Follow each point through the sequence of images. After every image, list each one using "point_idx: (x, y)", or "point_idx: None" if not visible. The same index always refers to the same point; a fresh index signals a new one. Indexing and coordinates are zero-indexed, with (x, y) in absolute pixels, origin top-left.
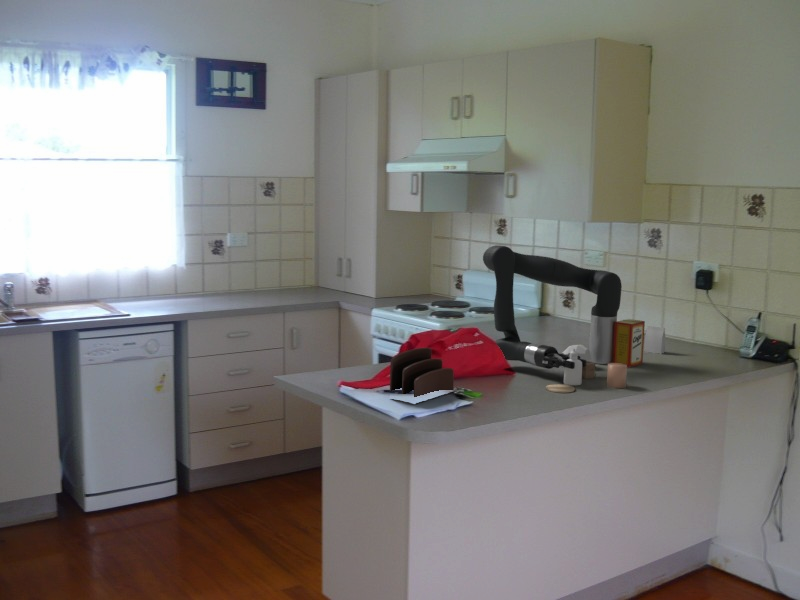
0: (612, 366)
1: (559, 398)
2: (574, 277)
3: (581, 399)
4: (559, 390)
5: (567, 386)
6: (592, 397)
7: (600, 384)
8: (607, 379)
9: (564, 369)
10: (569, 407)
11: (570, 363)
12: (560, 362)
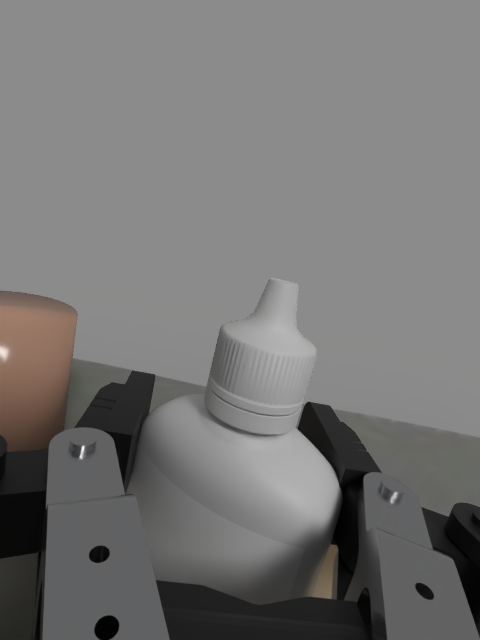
0: (75, 319)
1: (468, 501)
2: None
3: (368, 446)
4: None
5: (328, 582)
6: None
7: None
8: (36, 425)
9: (310, 595)
10: (457, 435)
11: (345, 424)
12: (425, 517)
